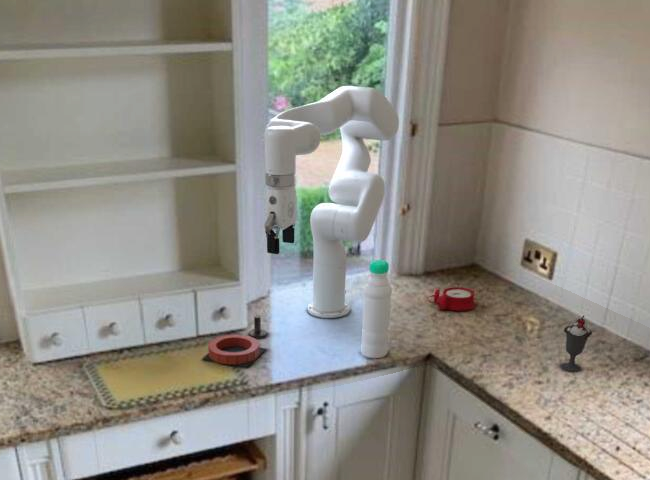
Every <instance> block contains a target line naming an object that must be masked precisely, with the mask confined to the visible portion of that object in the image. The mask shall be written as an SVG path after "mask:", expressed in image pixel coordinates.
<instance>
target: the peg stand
mask: <svg viewBox="0 0 650 480" xmlns="http://www.w3.org/2000/svg"><path fill="white" fill-rule="evenodd" d="M253 326H254V327H253V329H250V330H249V331H248V336H250V337H253V338H255V339H263V338H266V337H267V330H265V329H262V321H261V315H258V314H257V315H254V316H253Z"/></svg>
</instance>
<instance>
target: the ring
mask: <svg viewBox="0 0 650 480" xmlns="http://www.w3.org/2000/svg"><path fill="white" fill-rule="evenodd" d="M231 346H240V347H245V348H248V349H247V350H245V351H241V352H225V351H221V350H220V349H222V348H225V347H231ZM259 348H260V342H259V341H258V339H257V338H253V337H250V336H249V335H245V334H226V335H221V336H218V337H216V338H215V337H214V338H213V339H212V340H210V341H209V342H208V354H209V357H210V358H211V359H212V360H214V361H216V362H215V363H217V362H219V363H218V364H222V365H228V364H243V363H248V362H250V361H253V360H254V359H256V358H257V357H258V356H259V352H260V349H259ZM258 358H259V357H258ZM258 358H257V359H258ZM257 359H256V360H257Z"/></svg>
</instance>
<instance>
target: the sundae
mask: <svg viewBox="0 0 650 480" xmlns="http://www.w3.org/2000/svg"><path fill="white" fill-rule="evenodd" d="M584 318H585V314H583V316H582V317H581V318H578V319H577V320H576V321H574V322H573V324H572V325H568V326H565V327H564V329H563V332H564V333H565V336H566V338H565V351H566V352H567V354H569V360H568V362H564V363H562V364H560V369H562V370H563V371H566V372H570V373H574V372H575V373H577V372H580V371H581V369H582V367H581V366H580V365H578V364H576V361H575V360H576V357H577V356H579V355H581V354H582V353H583V351H584V350H585V346H586V343H587V341H588V339H589V337H590V336H592V335H593V332H592V330H591V328H589V327H588V324H587V322H586V319H584Z"/></svg>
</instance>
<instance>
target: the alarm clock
mask: <svg viewBox="0 0 650 480" xmlns="http://www.w3.org/2000/svg"><path fill="white" fill-rule="evenodd" d="M440 292H441V290H440V288H437V289H435V291H434V294H432V295H430V296H427V297H426V300H427V301H428V303H432V304H436V306H437V308H438V309H439V310H440V311H445V310H450V311H457V312H458V311H459V312H460V311H468V310H469V311H470V310H472V309H474V308H475V306H477V305H476V304H477V303H475V300H477V301H482V299H481V298H476V297H475V290H472V289H470V288H467V287H459V286H453V287H447V288H445V289H444V290H443V291H442V295H440ZM432 297H433V301H432V300H429V298H432Z"/></svg>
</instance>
